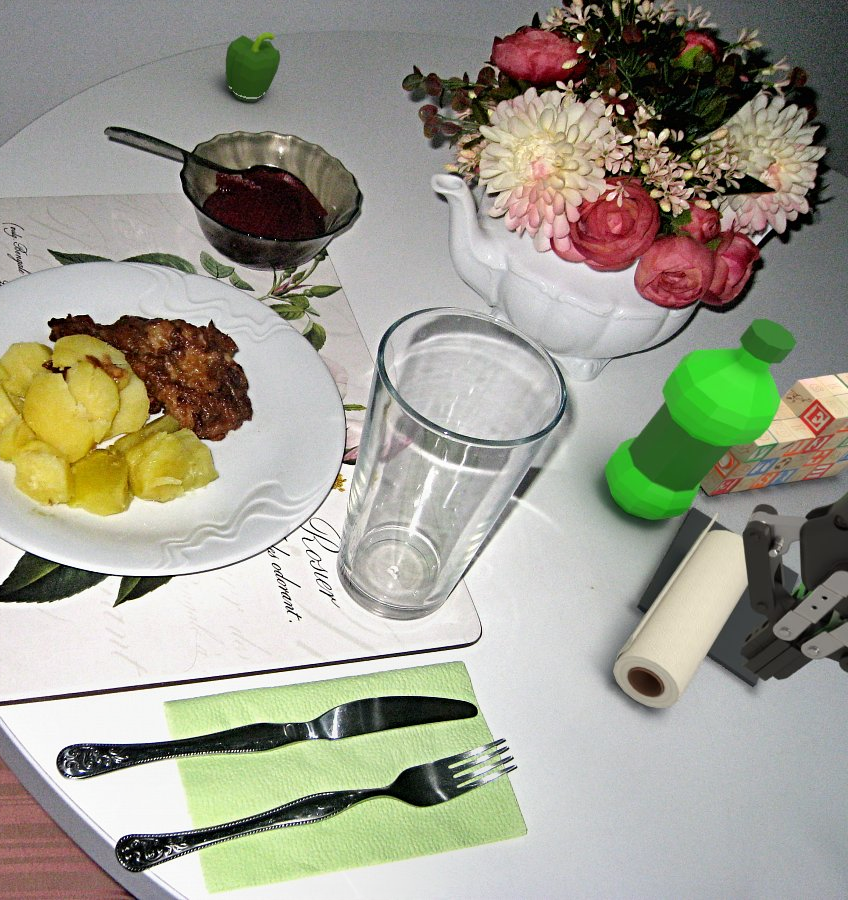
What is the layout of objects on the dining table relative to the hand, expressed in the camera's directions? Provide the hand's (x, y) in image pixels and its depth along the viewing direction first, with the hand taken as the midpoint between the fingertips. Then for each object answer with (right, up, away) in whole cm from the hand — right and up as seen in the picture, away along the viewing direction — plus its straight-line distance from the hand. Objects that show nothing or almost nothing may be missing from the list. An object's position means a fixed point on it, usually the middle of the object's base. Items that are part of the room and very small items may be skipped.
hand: (756, 664), depth 54 cm
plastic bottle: (+13, +7, +47) cm, 49 cm away
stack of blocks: (+31, +11, +55) cm, 64 cm away
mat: (+19, -2, +40) cm, 44 cm away
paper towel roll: (+5, -8, +27) cm, 28 cm away
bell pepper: (-31, +70, +90) cm, 118 cm away
